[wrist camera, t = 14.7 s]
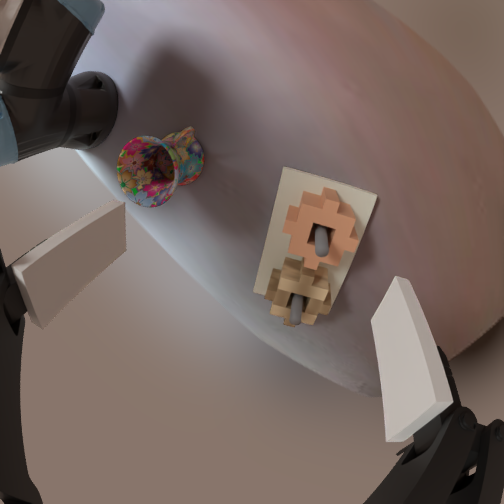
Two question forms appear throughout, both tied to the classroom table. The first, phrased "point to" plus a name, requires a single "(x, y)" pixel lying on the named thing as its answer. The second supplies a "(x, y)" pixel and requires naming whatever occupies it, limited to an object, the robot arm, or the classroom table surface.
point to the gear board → (283, 239)
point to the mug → (159, 166)
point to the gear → (299, 290)
